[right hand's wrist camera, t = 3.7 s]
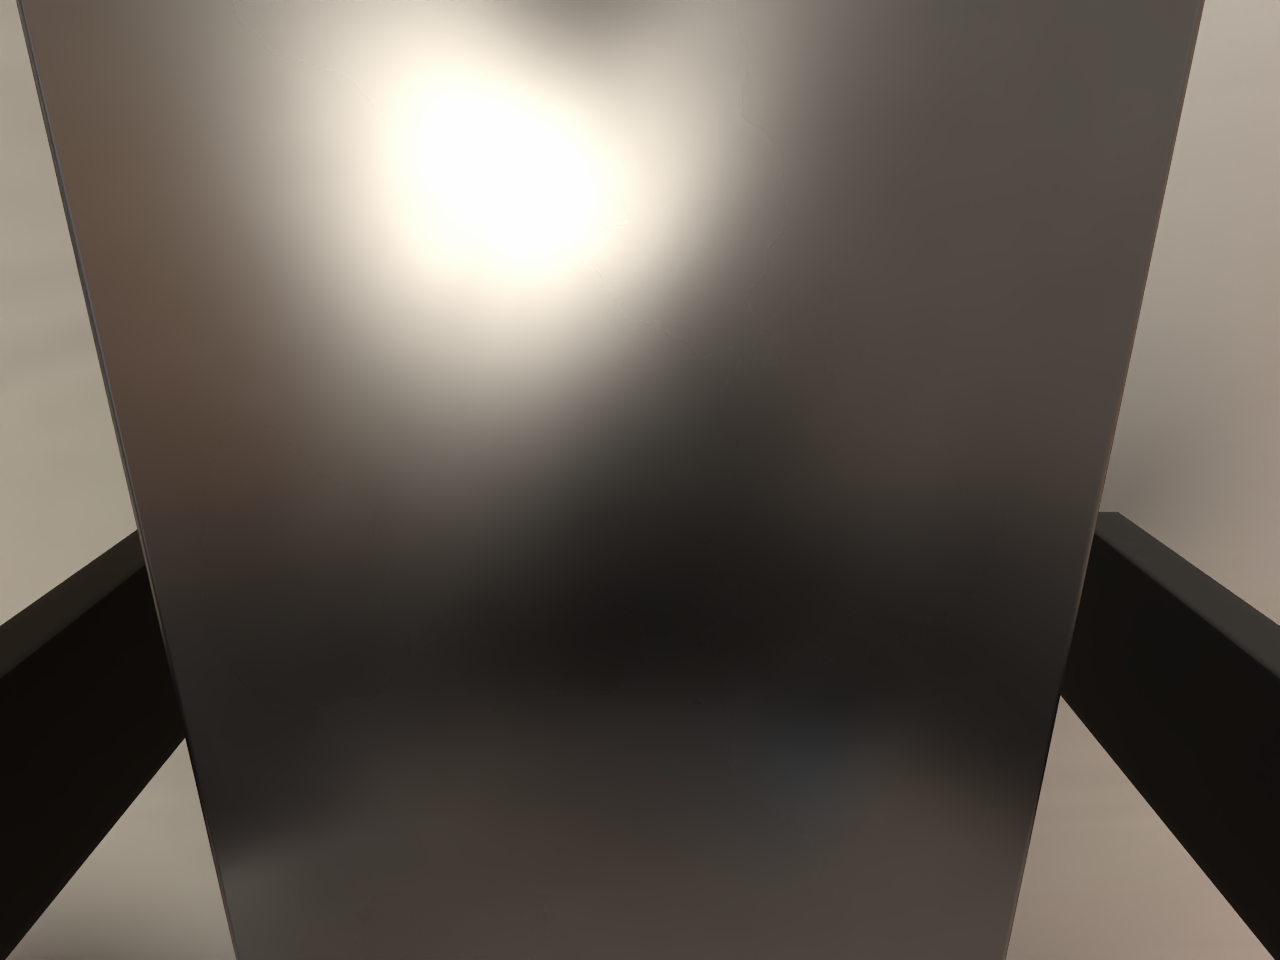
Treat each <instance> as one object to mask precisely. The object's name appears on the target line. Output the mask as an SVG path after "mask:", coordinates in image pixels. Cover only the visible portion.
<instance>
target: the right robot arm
mask: <svg viewBox="0 0 1280 960" xmlns="http://www.w3.org/2000/svg"><path fill="white" fill-rule="evenodd" d="M1060 695H1061V696H1062V697H1063V699H1064V700H1065V701H1066V702H1067V704H1068V705H1069V706H1070V707H1071V709H1072V710H1073V711H1074V712H1075V713H1076V715H1077V716H1078V717H1079V718H1080V720H1081V721H1082V722H1083V723H1084V725H1085V726H1086V727H1087V728H1088V730H1089V731H1090V732H1091V733H1092V734H1093V736H1094V737H1095V738H1096V739H1097V741H1098V742H1099V743H1100V744H1101V746H1102V747H1103V748H1104V749H1105V751H1106V752H1107V753H1108V754H1109V755H1110V757H1111V758H1112V759H1113V760H1114V762H1115V763H1116V764H1117V765H1118V767H1119V768H1120V769H1121V770H1122V772H1123V773H1124V774H1125V775H1126V776H1127V778H1128V779H1129V780H1130V781H1131V783H1132V784H1133V785H1134V786H1135V788H1136V789H1137V790H1138V791H1139V793H1140V794H1141V795H1142V796H1143V797H1144V799H1145V800H1146V801H1147V802H1148V804H1149V805H1150V806H1151V807H1152V809H1153V810H1154V811H1155V812H1156V814H1157V815H1158V816H1159V817H1160V818H1161V820H1162V821H1163V822H1164V823H1165V825H1166V826H1167V827H1168V828H1169V830H1170V831H1171V832H1172V833H1173V835H1174V836H1175V837H1176V838H1177V839H1178V841H1179V842H1180V843H1181V844H1182V846H1183V847H1184V848H1185V849H1186V851H1187V852H1188V853H1189V854H1190V855H1191V857H1192V858H1193V859H1194V860H1195V862H1196V863H1197V864H1198V865H1199V867H1200V868H1201V869H1202V870H1203V872H1204V873H1205V874H1206V875H1207V876H1208V878H1209V879H1210V880H1211V881H1212V883H1213V884H1214V885H1215V886H1216V888H1217V889H1218V890H1219V891H1220V893H1221V894H1222V895H1223V896H1224V897H1225V899H1226V900H1227V901H1228V902H1229V904H1230V905H1231V906H1232V907H1233V909H1234V910H1235V911H1236V912H1237V914H1238V915H1239V916H1240V917H1241V918H1242V920H1243V921H1244V922H1245V923H1246V925H1247V926H1248V927H1249V928H1250V930H1251V931H1252V932H1253V933H1254V935H1255V936H1256V937H1257V938H1258V939H1259V941H1260V942H1261V943H1262V944H1263V946H1264V947H1265V948H1266V949H1267V951H1268V952H1269V953H1270V954H1271V956H1272V957H1273V958H1274V959H1275V960H1280V626H1279V625H1278V624H1276V623H1275V622H1273V621H1272V620H1270V619H1269V618H1268V617H1266V616H1265V615H1263V614H1262V613H1260V612H1259V611H1258V610H1256V609H1255V608H1253V607H1252V606H1251V605H1249V604H1248V603H1246V602H1245V601H1243V600H1242V599H1241V598H1239V597H1238V596H1236V595H1235V594H1233V593H1232V592H1231V591H1229V590H1228V589H1226V588H1225V587H1224V586H1222V585H1221V584H1219V583H1218V582H1216V581H1215V580H1214V579H1212V578H1211V577H1209V576H1208V575H1206V574H1205V573H1204V572H1202V571H1201V570H1199V569H1198V568H1197V567H1195V566H1194V565H1192V564H1191V563H1189V562H1188V561H1187V560H1185V559H1184V558H1182V557H1181V556H1180V555H1178V554H1177V553H1175V552H1174V551H1172V550H1171V549H1170V548H1168V547H1167V546H1165V545H1164V544H1162V543H1161V542H1160V541H1158V540H1157V539H1155V538H1154V537H1153V536H1151V535H1150V534H1148V533H1147V532H1145V531H1144V530H1143V529H1141V528H1140V527H1138V526H1137V525H1135V524H1134V523H1133V522H1131V521H1130V520H1128V519H1127V518H1126V517H1124V516H1123V515H1121V514H1120V513H1118V512H1098V516H1097V521H1096V526H1095V531H1094V536H1093V540H1092V545H1091V550H1090V555H1089V560H1088V564H1087V569H1086V574H1085V579H1084V584H1083V589H1082V593H1081V598H1080V603H1079V608H1078V613H1077V617H1076V622H1075V627H1074V632H1073V637H1072V642H1071V646H1070V651H1069V656H1068V661H1067V666H1066V670H1065V675H1064V680H1063V685H1062V690H1061V694H1060ZM184 738H185V734H184V729H183V725H182V721H181V716H180V712H179V708H178V703H177V699H176V695H175V690H174V686H173V682H172V677H171V673H170V668H169V664H168V660H167V655H166V651H165V647H164V642H163V638H162V634H161V629H160V625H159V621H158V616H157V612H156V607H155V603H154V599H153V594H152V590H151V586H150V581H149V577H148V573H147V568H146V564H145V560H144V555H143V551H142V546H141V542H140V538H139V533H138V529H137V530H136V531H135V532H133V533H132V534H130V535H129V536H127V537H126V538H125V539H123V540H122V541H120V542H119V543H118V544H116V545H115V546H113V547H112V548H110V549H109V550H108V551H106V552H105V553H103V554H102V555H100V556H99V557H98V558H96V559H95V560H93V561H92V562H91V563H89V564H88V565H86V566H85V567H83V568H82V569H81V570H79V571H78V572H76V573H75V574H74V575H72V576H71V577H69V578H68V579H66V580H65V581H64V582H62V583H61V584H59V585H58V586H56V587H55V588H54V589H52V590H51V591H49V592H48V593H47V594H45V595H44V596H42V597H41V598H39V599H38V600H37V601H35V602H34V603H32V604H31V605H29V606H28V607H27V608H25V609H24V610H22V611H21V612H20V613H18V614H17V615H15V616H14V617H12V618H11V619H10V620H8V621H7V622H5V623H4V624H2V625H1V626H0V960H5V959H6V958H7V957H8V956H9V954H10V953H11V952H12V951H13V949H14V948H15V947H16V946H17V944H18V943H19V942H20V941H21V939H22V938H23V937H24V936H25V935H26V933H27V932H28V931H29V930H30V928H31V927H32V926H33V925H34V923H35V922H36V921H37V920H38V918H39V917H40V916H41V915H42V914H43V912H44V911H45V910H46V909H47V907H48V906H49V905H50V904H51V902H52V901H53V900H54V899H55V897H56V896H57V895H58V894H59V893H60V891H61V890H62V889H63V888H64V886H65V885H66V884H67V883H68V881H69V880H70V879H71V878H72V876H73V875H74V874H75V873H76V872H77V870H78V869H79V868H80V867H81V865H82V864H83V863H84V862H85V860H86V859H87V858H88V857H89V855H90V854H91V853H92V852H93V851H94V849H95V848H96V847H97V846H98V844H99V843H100V842H101V841H102V839H103V838H104V837H105V836H106V834H107V833H108V832H109V831H110V830H111V828H112V827H113V826H114V825H115V823H116V822H117V821H118V820H119V818H120V817H121V816H122V815H123V814H124V812H125V811H126V810H127V809H128V807H129V806H130V805H131V804H132V802H133V801H134V800H135V799H136V797H137V796H138V795H139V794H140V793H141V791H142V790H143V789H144V788H145V786H146V785H147V784H148V783H149V781H150V780H151V779H152V778H153V776H154V775H155V774H156V773H157V772H158V770H159V769H160V768H161V767H162V765H163V764H164V763H165V762H166V760H167V759H168V758H169V757H170V755H171V754H172V753H173V752H174V751H175V749H176V748H177V747H178V746H179V744H180V743H181V742H182V741H183V739H184Z"/></svg>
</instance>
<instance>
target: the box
mask: <svg viewBox="0 0 1280 960" xmlns="http://www.w3.org/2000/svg"><path fill="white" fill-rule="evenodd" d="M1204 1H1205V0H16V2H17V6H18V11H19V15H20V19H21V24H22V28H23V32H24V37H25V41H26V45H27V50H28V54H29V58H30V63H31V67H32V72H33V76H34V80H35V85H36V89H37V93H38V98H39V102H40V106H41V111H42V115H43V119H44V124H45V128H46V133H47V137H48V141H49V146H50V150H51V154H52V159H53V163H54V167H55V172H56V176H57V180H58V185H59V189H60V194H61V198H62V202H63V207H64V211H65V215H66V220H67V224H68V228H69V233H70V237H71V241H72V246H73V250H74V255H75V259H76V263H77V268H78V272H79V276H80V281H81V285H82V289H83V294H84V298H85V302H86V307H87V311H88V316H89V320H90V324H91V329H92V333H93V337H94V342H95V346H96V350H97V355H98V359H99V363H100V368H101V372H102V377H103V381H104V385H105V390H106V394H107V398H108V403H109V407H110V411H111V416H112V420H113V424H114V429H115V433H116V438H117V442H118V446H119V451H120V455H121V459H122V464H123V468H124V472H125V477H126V481H127V485H128V490H129V494H130V499H131V503H132V507H133V512H134V516H135V520H136V525H137V529H138V533H139V538H140V542H141V546H142V551H143V555H144V560H145V564H146V568H147V573H148V577H149V581H150V586H151V590H152V594H153V599H154V603H155V607H156V612H157V616H158V621H159V625H160V629H161V634H162V638H163V642H164V647H165V651H166V655H167V660H168V664H169V668H170V673H171V677H172V682H173V686H174V690H175V695H176V699H177V703H178V708H179V712H180V716H181V721H182V725H183V729H184V734H185V738H186V743H187V747H188V751H189V756H190V760H191V764H192V769H193V773H194V777H195V782H196V786H197V790H198V795H199V799H200V804H201V808H202V812H203V817H204V821H205V825H206V830H207V834H208V838H209V843H210V847H211V851H212V856H213V860H214V865H215V869H216V873H217V878H218V882H219V886H220V891H221V895H222V899H223V904H224V908H225V912H226V917H227V921H228V926H229V930H230V934H231V939H232V943H233V947H234V952H235V956H236V960H1005V959H1006V955H1007V950H1008V945H1009V940H1010V935H1011V930H1012V926H1013V921H1014V916H1015V911H1016V906H1017V902H1018V897H1019V892H1020V887H1021V882H1022V877H1023V873H1024V868H1025V863H1026V858H1027V853H1028V849H1029V844H1030V839H1031V834H1032V829H1033V825H1034V820H1035V815H1036V810H1037V805H1038V800H1039V796H1040V791H1041V786H1042V781H1043V776H1044V772H1045V767H1046V762H1047V757H1048V752H1049V747H1050V743H1051V738H1052V733H1053V728H1054V723H1055V719H1056V714H1057V709H1058V704H1059V699H1060V694H1061V690H1062V685H1063V680H1064V675H1065V670H1066V666H1067V661H1068V656H1069V651H1070V646H1071V642H1072V637H1073V632H1074V627H1075V622H1076V617H1077V613H1078V608H1079V603H1080V598H1081V593H1082V589H1083V584H1084V579H1085V574H1086V569H1087V564H1088V560H1089V555H1090V550H1091V545H1092V540H1093V536H1094V531H1095V526H1096V521H1097V516H1098V511H1099V507H1100V502H1101V497H1102V492H1103V487H1104V483H1105V478H1106V473H1107V468H1108V463H1109V459H1110V454H1111V449H1112V444H1113V439H1114V434H1115V430H1116V425H1117V420H1118V415H1119V410H1120V406H1121V401H1122V396H1123V391H1124V386H1125V381H1126V377H1127V372H1128V367H1129V362H1130V357H1131V353H1132V348H1133V343H1134V338H1135V333H1136V328H1137V324H1138V319H1139V314H1140V309H1141V304H1142V300H1143V295H1144V290H1145V285H1146V280H1147V276H1148V271H1149V266H1150V261H1151V256H1152V251H1153V247H1154V242H1155V237H1156V232H1157V227H1158V223H1159V218H1160V213H1161V208H1162V203H1163V198H1164V194H1165V189H1166V184H1167V179H1168V174H1169V170H1170V165H1171V160H1172V155H1173V150H1174V145H1175V141H1176V136H1177V131H1178V126H1179V121H1180V117H1181V112H1182V107H1183V102H1184V97H1185V93H1186V88H1187V83H1188V78H1189V73H1190V68H1191V64H1192V59H1193V54H1194V49H1195V44H1196V40H1197V35H1198V30H1199V25H1200V20H1201V15H1202V11H1203V6H1204Z"/></svg>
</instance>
